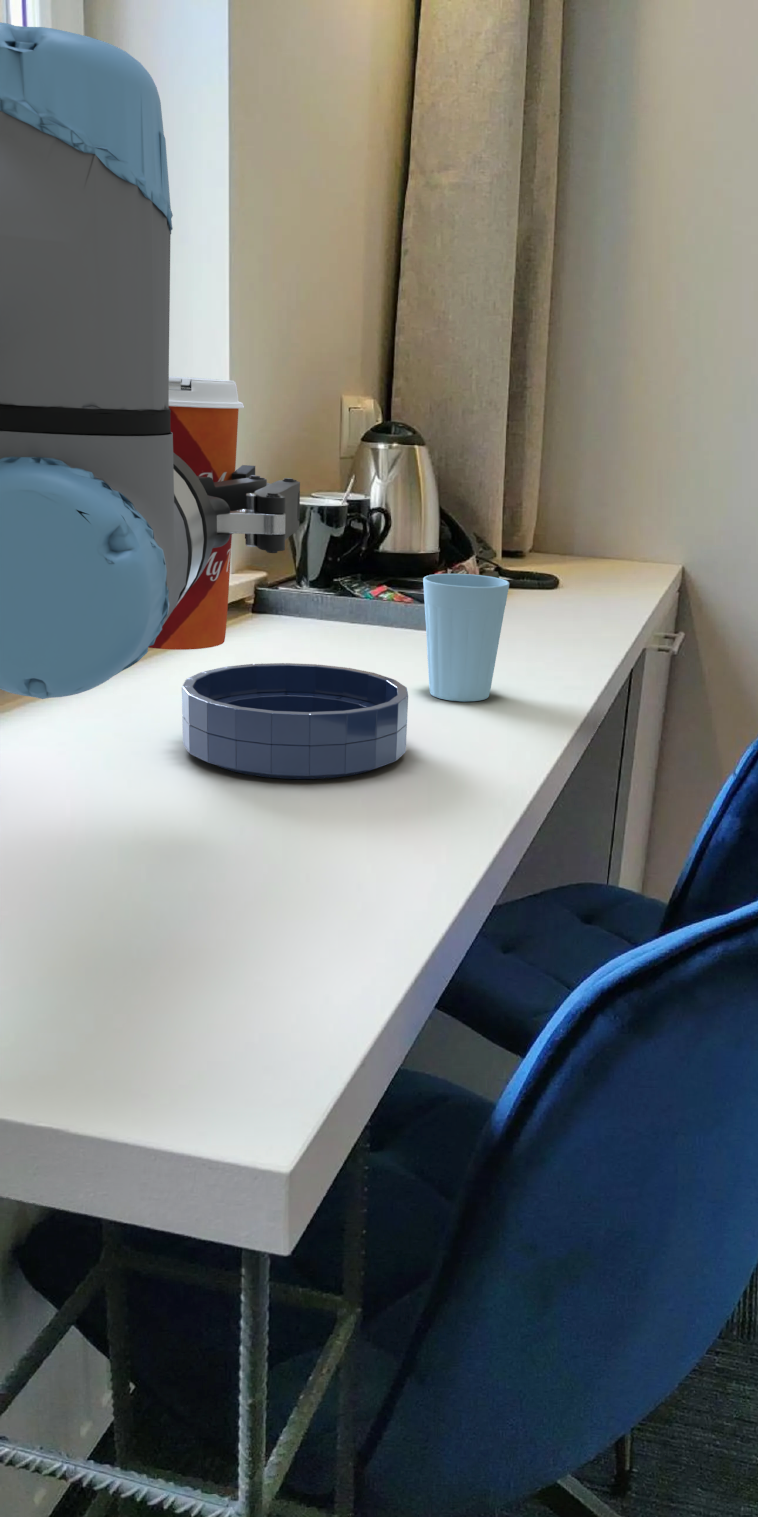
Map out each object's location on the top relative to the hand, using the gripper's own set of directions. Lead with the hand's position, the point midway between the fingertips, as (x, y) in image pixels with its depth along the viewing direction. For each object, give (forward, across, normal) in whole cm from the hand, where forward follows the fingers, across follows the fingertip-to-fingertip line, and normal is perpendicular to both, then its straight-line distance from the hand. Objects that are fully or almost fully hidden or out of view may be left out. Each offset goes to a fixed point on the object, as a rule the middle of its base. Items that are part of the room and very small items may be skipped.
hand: (184, 485), depth 75 cm
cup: (+37, +20, -21) cm, 47 cm away
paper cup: (-5, 0, -8) cm, 10 cm away
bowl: (+16, +6, -20) cm, 26 cm away
